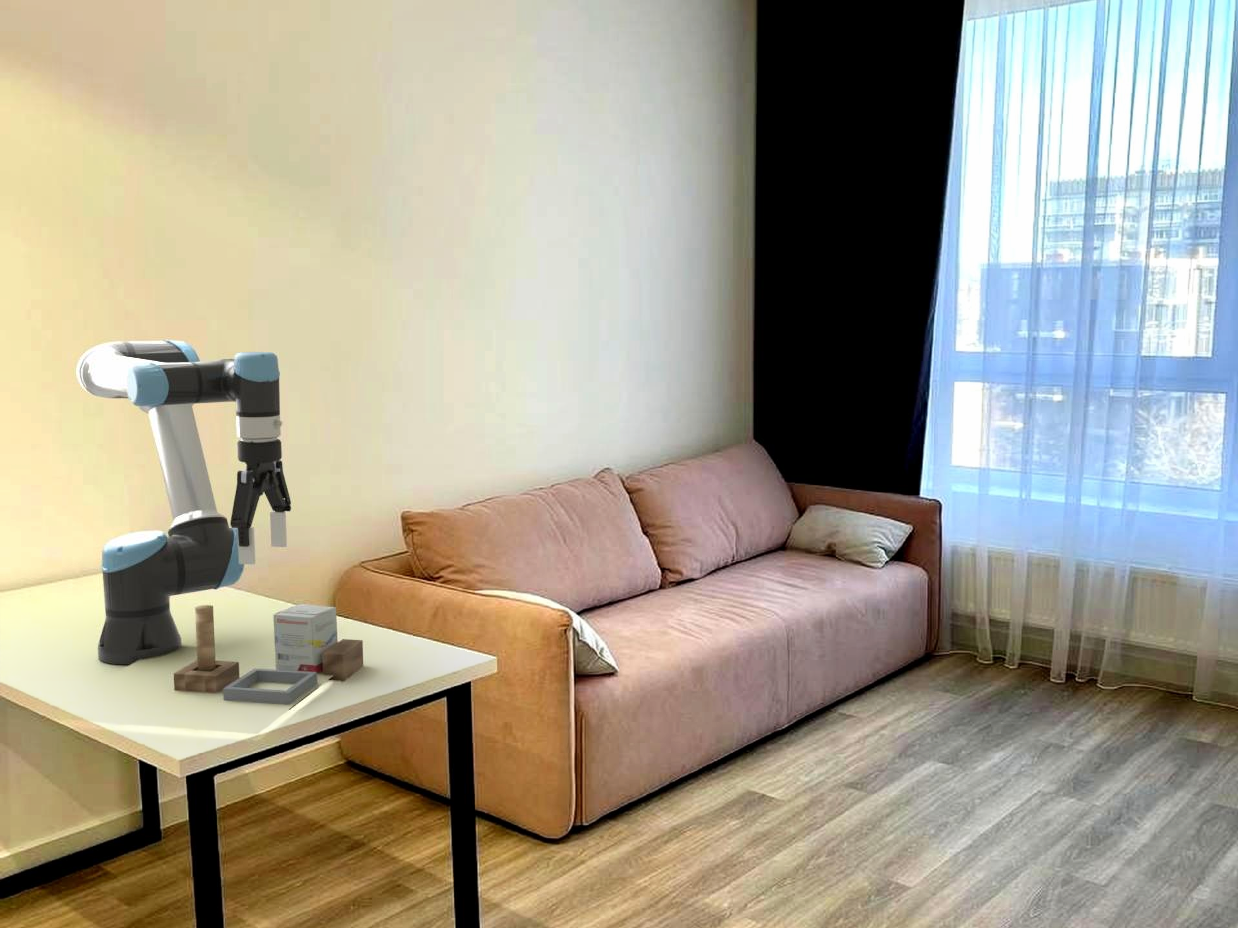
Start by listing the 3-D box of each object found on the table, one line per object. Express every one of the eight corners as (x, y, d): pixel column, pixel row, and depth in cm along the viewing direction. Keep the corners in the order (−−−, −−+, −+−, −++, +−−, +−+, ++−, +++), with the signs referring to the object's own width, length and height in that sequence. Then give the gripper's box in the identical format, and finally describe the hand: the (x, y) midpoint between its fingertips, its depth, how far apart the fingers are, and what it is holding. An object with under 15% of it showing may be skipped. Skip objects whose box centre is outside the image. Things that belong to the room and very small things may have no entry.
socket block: (174, 695, 202) (173, 673, 201) (199, 680, 210) (197, 659, 209) (216, 698, 200) (215, 676, 200) (239, 683, 208) (238, 661, 208)
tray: (223, 705, 197) (223, 688, 196) (255, 684, 208) (254, 668, 207) (289, 709, 195) (288, 692, 194) (317, 688, 205) (317, 672, 205)
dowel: (195, 685, 204) (191, 608, 202) (204, 680, 207) (200, 604, 205) (210, 687, 203) (207, 609, 201) (219, 681, 206) (216, 605, 204)
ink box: (340, 666, 218) (338, 605, 216) (314, 680, 210) (311, 617, 208) (301, 661, 221) (298, 601, 219) (274, 675, 213) (271, 613, 211)
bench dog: (323, 679, 210) (322, 653, 209) (343, 664, 219) (342, 639, 218) (343, 681, 209) (342, 654, 209) (363, 665, 218) (362, 640, 217)
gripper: (248, 449, 193) (253, 572, 197) (306, 430, 218) (309, 540, 221) (206, 448, 194) (211, 570, 197) (268, 429, 219) (272, 539, 222)
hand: (263, 554), depth 209 cm, fingers open, 13 cm apart
